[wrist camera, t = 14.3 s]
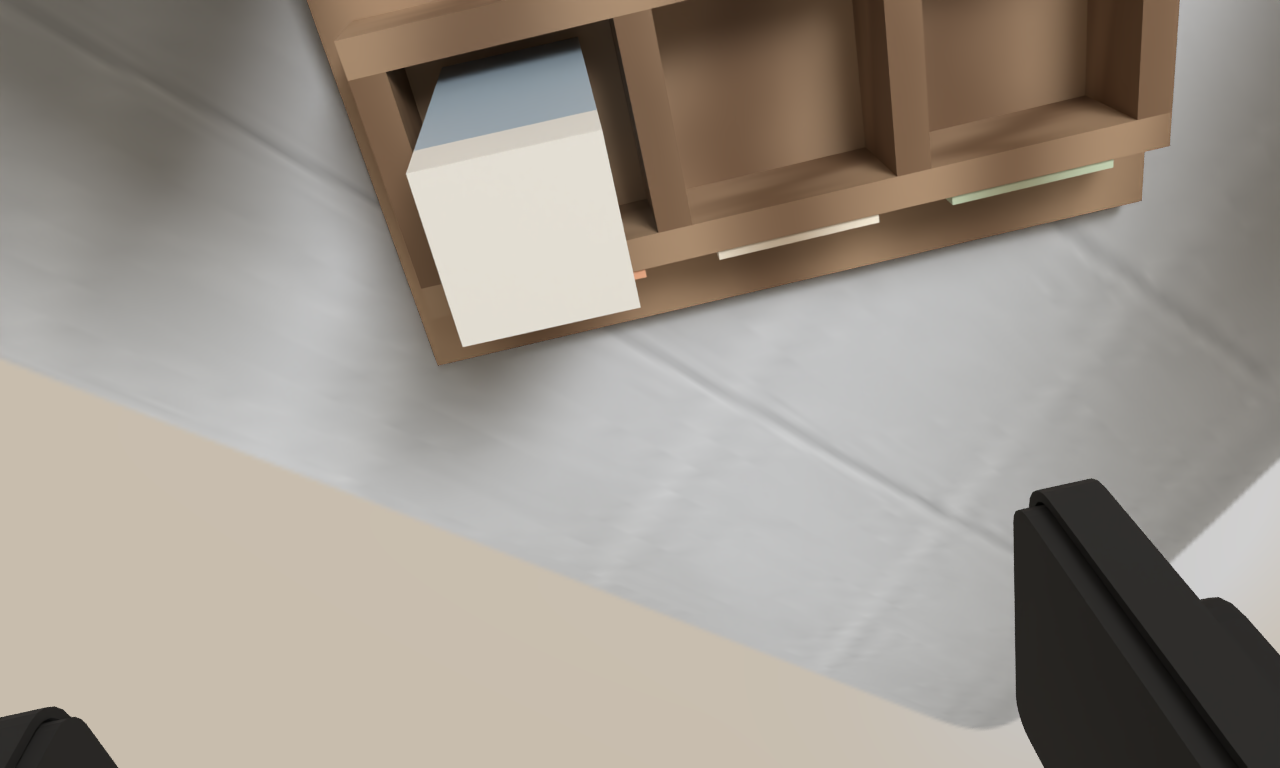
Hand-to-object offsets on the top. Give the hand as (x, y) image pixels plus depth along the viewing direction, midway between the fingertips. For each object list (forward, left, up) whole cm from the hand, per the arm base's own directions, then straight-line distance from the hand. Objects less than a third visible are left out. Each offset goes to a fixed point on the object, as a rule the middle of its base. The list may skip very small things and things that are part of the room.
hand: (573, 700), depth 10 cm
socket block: (-7, 0, -23) cm, 24 cm away
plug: (0, 0, -22) cm, 22 cm away
